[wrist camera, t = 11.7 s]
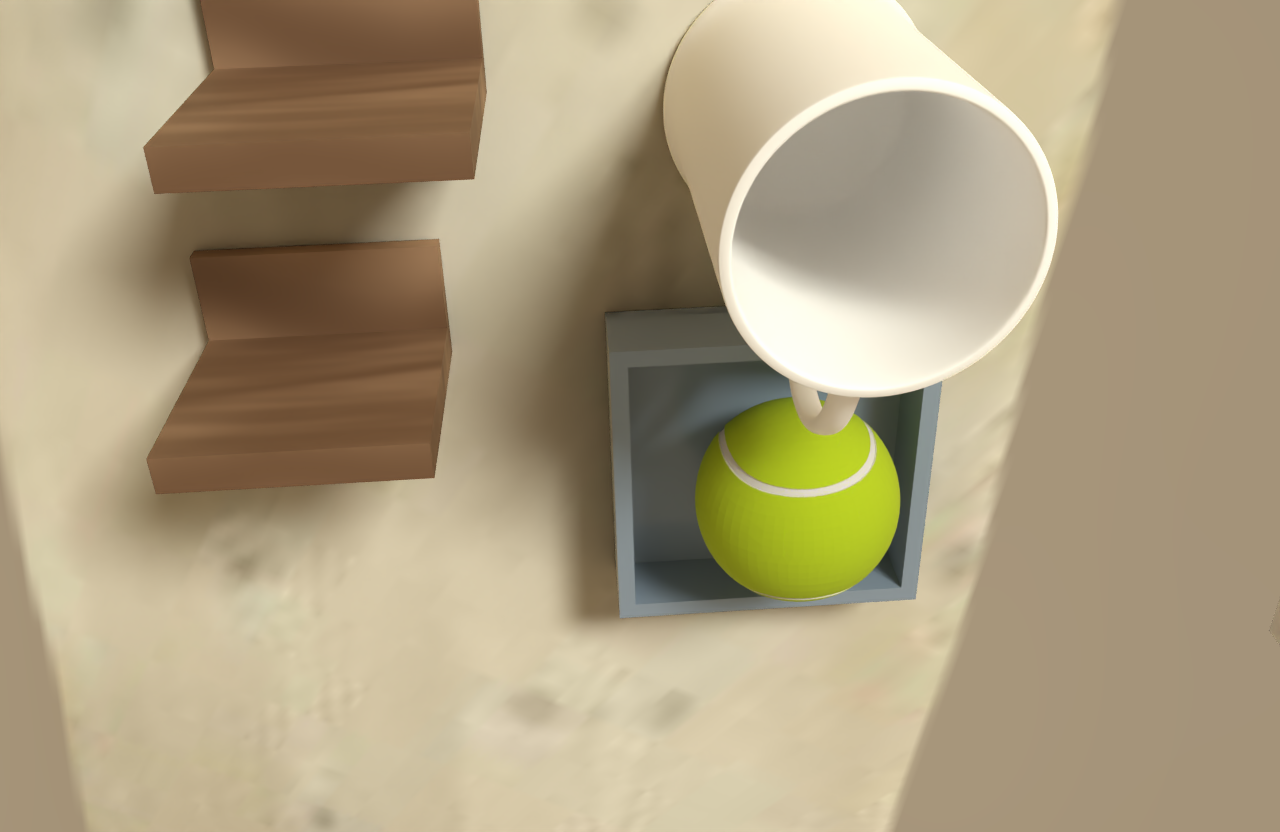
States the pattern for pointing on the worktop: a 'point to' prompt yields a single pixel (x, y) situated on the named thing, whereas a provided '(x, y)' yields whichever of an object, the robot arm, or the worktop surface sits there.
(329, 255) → the bookend
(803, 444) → the tennis ball
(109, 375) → the worktop surface
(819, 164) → the mug
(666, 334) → the dish
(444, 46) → the bookend
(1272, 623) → the robot arm
